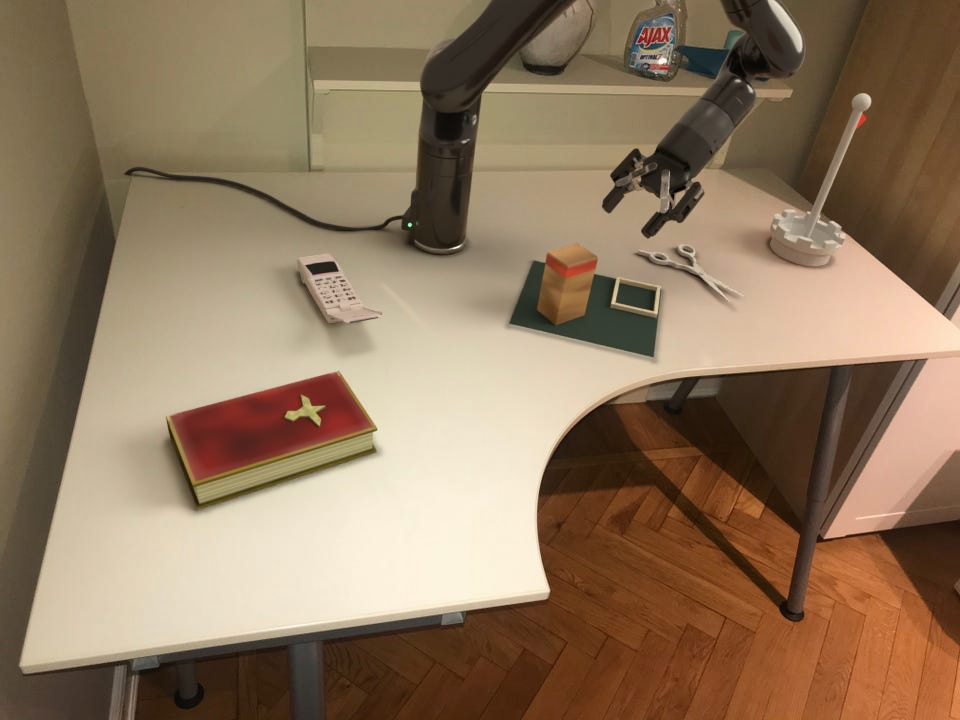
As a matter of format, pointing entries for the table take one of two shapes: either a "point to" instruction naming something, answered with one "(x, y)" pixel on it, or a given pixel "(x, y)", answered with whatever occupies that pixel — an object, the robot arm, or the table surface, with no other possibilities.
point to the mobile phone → (332, 290)
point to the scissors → (695, 269)
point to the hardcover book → (269, 437)
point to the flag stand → (816, 210)
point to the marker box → (566, 283)
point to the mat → (599, 313)
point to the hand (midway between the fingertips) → (624, 222)
